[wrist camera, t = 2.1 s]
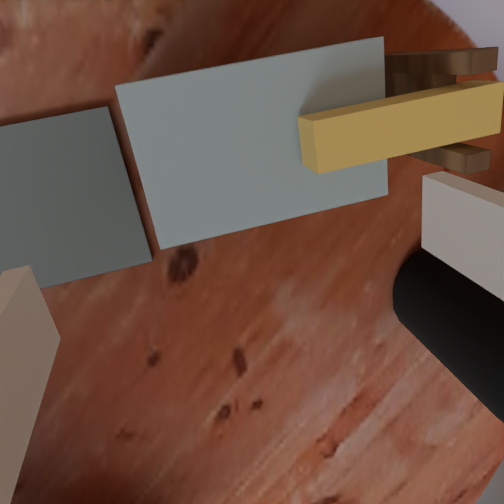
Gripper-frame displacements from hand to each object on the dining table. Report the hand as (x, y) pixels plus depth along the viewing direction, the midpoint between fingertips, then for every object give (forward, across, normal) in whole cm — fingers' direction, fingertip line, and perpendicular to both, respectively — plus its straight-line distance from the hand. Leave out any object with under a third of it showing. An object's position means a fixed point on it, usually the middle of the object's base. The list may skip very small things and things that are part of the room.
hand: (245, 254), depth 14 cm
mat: (+23, -14, -3) cm, 27 cm away
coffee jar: (+23, +23, -20) cm, 38 cm away
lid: (+16, +4, 0) cm, 17 cm away
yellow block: (+13, +12, 0) cm, 18 cm away
